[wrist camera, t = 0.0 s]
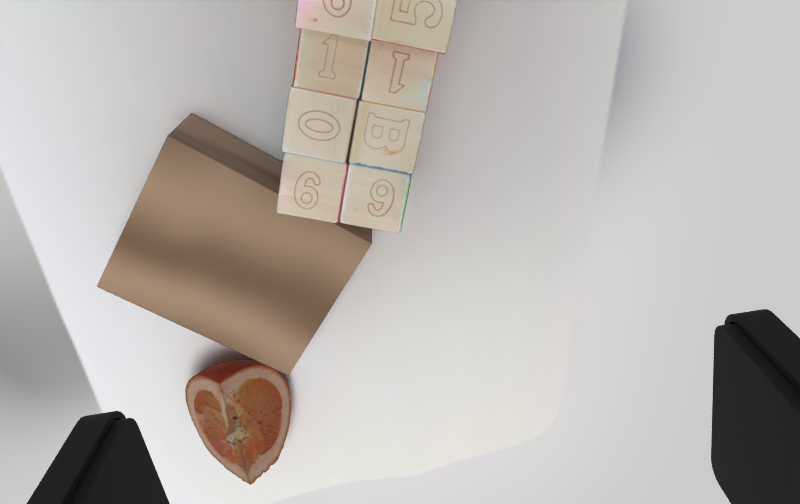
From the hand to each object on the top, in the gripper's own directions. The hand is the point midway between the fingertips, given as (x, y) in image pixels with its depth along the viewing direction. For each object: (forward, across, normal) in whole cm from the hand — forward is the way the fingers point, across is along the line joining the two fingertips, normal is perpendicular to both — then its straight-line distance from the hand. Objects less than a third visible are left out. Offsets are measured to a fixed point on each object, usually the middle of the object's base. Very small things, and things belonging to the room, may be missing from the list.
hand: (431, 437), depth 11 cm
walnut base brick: (+31, +10, +8) cm, 34 cm away
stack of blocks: (+32, 0, -5) cm, 32 cm away
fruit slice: (+32, +14, +19) cm, 39 cm away
